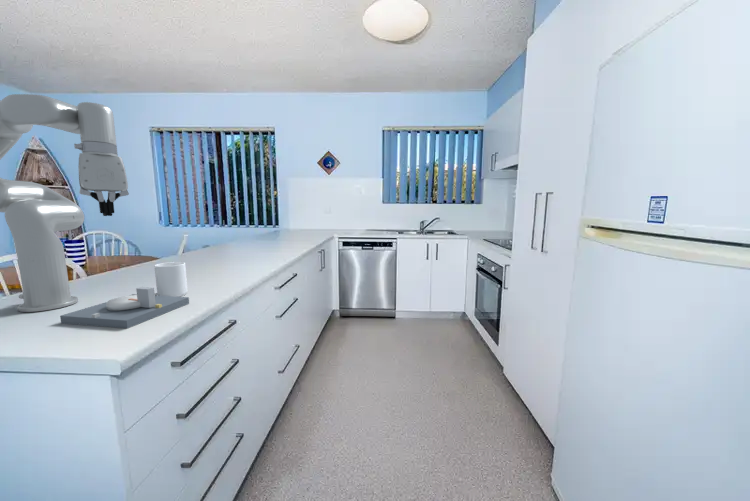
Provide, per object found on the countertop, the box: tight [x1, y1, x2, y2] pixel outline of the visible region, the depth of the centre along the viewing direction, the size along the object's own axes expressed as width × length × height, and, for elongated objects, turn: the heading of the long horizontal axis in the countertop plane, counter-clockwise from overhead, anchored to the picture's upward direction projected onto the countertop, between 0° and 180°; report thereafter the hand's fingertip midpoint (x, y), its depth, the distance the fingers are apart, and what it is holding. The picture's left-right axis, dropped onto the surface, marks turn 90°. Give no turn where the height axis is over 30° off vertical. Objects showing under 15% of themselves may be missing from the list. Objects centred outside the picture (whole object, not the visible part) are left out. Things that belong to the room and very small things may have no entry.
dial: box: [105, 286, 156, 311], centre depth 86 cm, size 13×10×5 cm
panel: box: [59, 293, 190, 329], centre depth 87 cm, size 20×20×3 cm
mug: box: [154, 261, 188, 297], centre depth 105 cm, size 9×12×11 cm
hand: (107, 215), depth 90 cm, fingers closed
